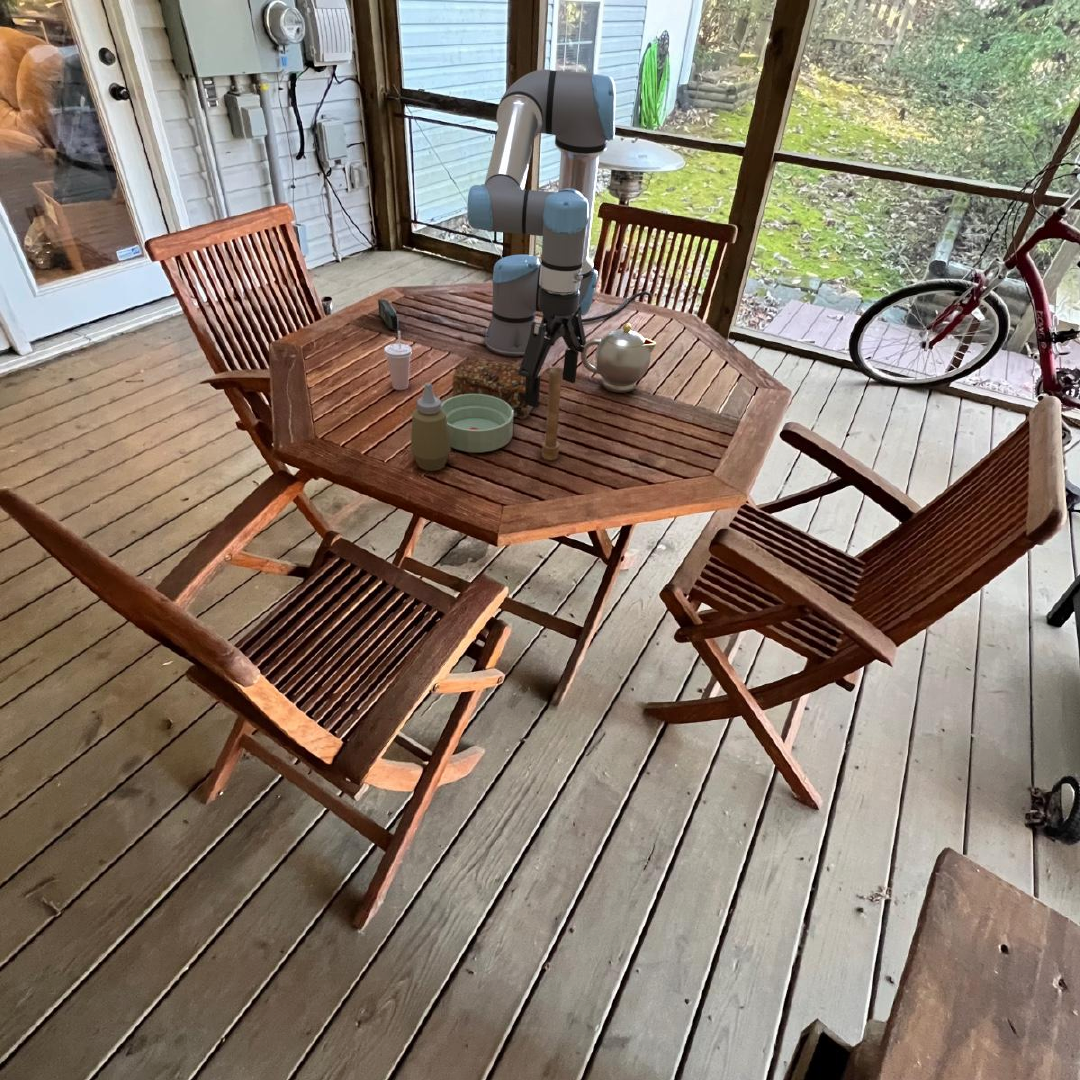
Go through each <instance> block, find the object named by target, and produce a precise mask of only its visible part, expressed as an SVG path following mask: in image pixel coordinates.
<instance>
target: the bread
mask: <svg viewBox="0 0 1080 1080" xmlns="http://www.w3.org/2000/svg"><path fill="white" fill-rule="evenodd" d="M519 369H520V365H516V364H512V363H508V362H503V361H499V360H493V359H484V358H480V357H478V356H474V357H467V358H465V359H463V360H461V361H460V362H459V363H458V364H457V365H456V367H454V372H453V376H452V383H451V386H452V397H454V396H458V395H463V394H485V395H490V396H494V397H497V398H499V399H502V400H504V401H505V402H506V403H508V404H509V405H510V406H511V408H512V409H513V417H515V418H518V419H520V420H522V419H527V418H528V417H529V416H530V413H531V411H532V410H533V409H534V407H532V406H529V405H527V404H525V393H526V390H525V387H526V386H525V385H526V377H524V376H522V375H519ZM541 381H542V380H541V379H540V382H541Z"/></svg>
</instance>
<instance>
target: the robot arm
mask: <svg viewBox="0 0 1080 1080" xmlns="http://www.w3.org/2000/svg"><path fill="white" fill-rule="evenodd" d="M496 124H497V132H496V136H495V139H494V143H493V148H492V152H491V156H490V160H489V165H488V167H487V171H486V176H485V180H484V183H481V184H474V185H472V186H470V188H469V190H468V195H467V203H466V204H467V205H466V211H467V212H466V213H467V214H466V215H467V221H468V225H469V226H470V227H471V228H472V229H474V230H480V231H485V232H489V233H491V232H492V233H505V234H516V235H517V234H519V235H527V236H536V237H542V239H541V240H542V241H541V243H542V244H541V257H540V258H541V259H539V258H538V257H537V256H535V255H531V254H512V255H507V256H505V257H501V258H500V259H499V260H497V261H496V262H495V263H494V266H493V274H492V279H491V282H492V306H491V307H492V310H491V312H492V313H491V318H490V321H489V324H488V327H487V328H486V329H485V330H484V332H483V337H484V346H485V348H486V349H487V350H488V351H490V352H491V353H493V354H496V355H500V356H502V357H503V356H504V357H510V358H512V357H513V358H521V357H522V360H521V363H520V365H519V367H520V369H519V375H522V376H524V377H526V385H525V386H526V387H525V390H526V393H525V404H527V405H529V406H532V407H534V408H535V409H537V408H539V402H540V391H541V389H540V388H541V381H540V380H541V376H540V375H539V374H540V372H541V370H542V367H543V366H544V363H545V361H546V358H547V357H548V354H549V352H550V349H551V347H554V346H555V344H556V342H557V340H559V339H560V338H562V339H563V340H564V343H565V345H566V346H567V348H566V349H565V350H564V359H563V369H562V377H561V380H563V381H566V382H569V383H571V384H575V383H576V379H577V369H578V360H579V359H578V358H579V353H582V352H583V351H584V347H582V346H584V345H585V344H586V342H587V339H586V335H585V327H584V323H587V322H594V321H599V320H601V319H605V318H608V317H611V316H613V315H615V314H617V313H619V312H620V311H621V310H623V309H624V308H625V307H626V306H627V305H628V303H629V302H630V301H632V300H634V299H636V298H638V297H641V296H647V297H648V298H652V297H653V296H652V294H651V293H650V292H648V291H640V292H638V293H636V294H633V295H631V296H629V297H627V298H626V299H625V301H624V302H623V303H622V304H621V305H620V306H618V308H617V307H616V308H615V309H614V310H612V311H610V312H608V313H605V314H602V315H598V316H593V317H587V318H582V316H586V315H587V314H588V313H589V312H590V309H591V307H592V303H593V300H594V296H595V291H596V287H597V286H596V285H597V281H598V270H596V269H595V268H594V262H593V261H592V259H591V258H590V257H589V249H590V241H591V231H592V224H593V223H592V222H593V214H594V207H595V206H594V205H595V196H596V187H597V179H598V178H597V177H598V169H599V159H600V156H601V155H602V154H603V153H604V152H605V151H606V150H607V148H608V142H611V141H614V140H615V136H616V135H615V133H616V84H615V81H614V79H613V78H612V77H610V75H609V76H608V75H604V74H597V73H595V72H580V71H579V72H578V71H566V70H565V71H564V70H552V69H545V68H543V69H538V70H537V69H536V70H534V71H531V72H529V73H527V74H524V75H523V76H521V77H520V78H518V79H516V81H515V82H513V83H512V84H511V85H510V86H509V87H508V88H507V89H506V90H505V92H504V94H503V95H502V97H501V98H500V101H499V103H498V106H497V110H496ZM539 134H543V135H544V134H545V135H551V136H555V137H554V145H555V147H556V148H557V150H558V151H559V152H560V161H559V163H560V164H559V176H558V188H557V191H546V190H537V189H536V190H535V189H534V190H533V189H528V188H527V189H526V188H525V187H526V182H527V178H528V172H529V167H530V162H531V157H532V152H533V146H534V140H535V138H536V137H538V135H539ZM536 313H542V318H541V321H540V322H537V321H536ZM534 408H533V409H534Z"/></svg>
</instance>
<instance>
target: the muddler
mask: <svg viewBox="0 0 1080 1080" xmlns="http://www.w3.org/2000/svg"><path fill="white" fill-rule="evenodd" d="M548 372H549V374H548V390H547V405H546V421H545V422H546V423H545V439H544V440H543V441H542V444H541V445H542V446H541V457H542V458H543V459H544V460H547V461H554V460H557V459H558V458H559V454H560V442H559V441H558V429H559V417H560V416H559V415H560V404H561V403H560V401H561V388H562V376H563V370H562V369H561V368H558V367H552V368H550V369H549V371H548Z"/></svg>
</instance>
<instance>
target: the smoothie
mask: <svg viewBox="0 0 1080 1080" xmlns="http://www.w3.org/2000/svg"><path fill="white" fill-rule="evenodd" d="M400 331H401V330H400ZM400 331H397V339H398V343H391V344H389V345H386V346H385V347H384V348H383V350H384V355H385V356H386V357H385V358H386V362H387V366H388V371H389V375H390V380H391V386H392V388H393V389H394V390H396V391H405V390H408V388H409V381H410V368H411V355H412V353H413V352H412V351H413V349H412V347H411V346H410V345H407V344H406V343H402V337H401V336H402V335H401V333H400Z"/></svg>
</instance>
